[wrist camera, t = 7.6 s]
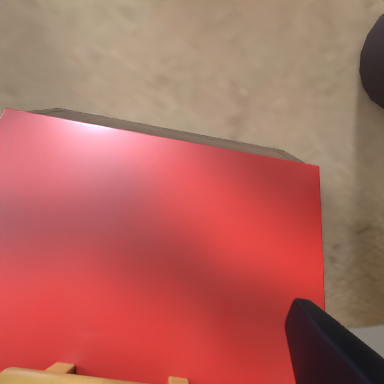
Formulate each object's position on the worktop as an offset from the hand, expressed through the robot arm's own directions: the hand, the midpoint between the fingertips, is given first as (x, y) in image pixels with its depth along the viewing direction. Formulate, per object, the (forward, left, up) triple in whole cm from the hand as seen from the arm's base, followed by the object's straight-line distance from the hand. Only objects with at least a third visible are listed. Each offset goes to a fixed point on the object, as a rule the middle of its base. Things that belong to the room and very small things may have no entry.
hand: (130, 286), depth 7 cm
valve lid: (-2, 0, -4) cm, 5 cm away
